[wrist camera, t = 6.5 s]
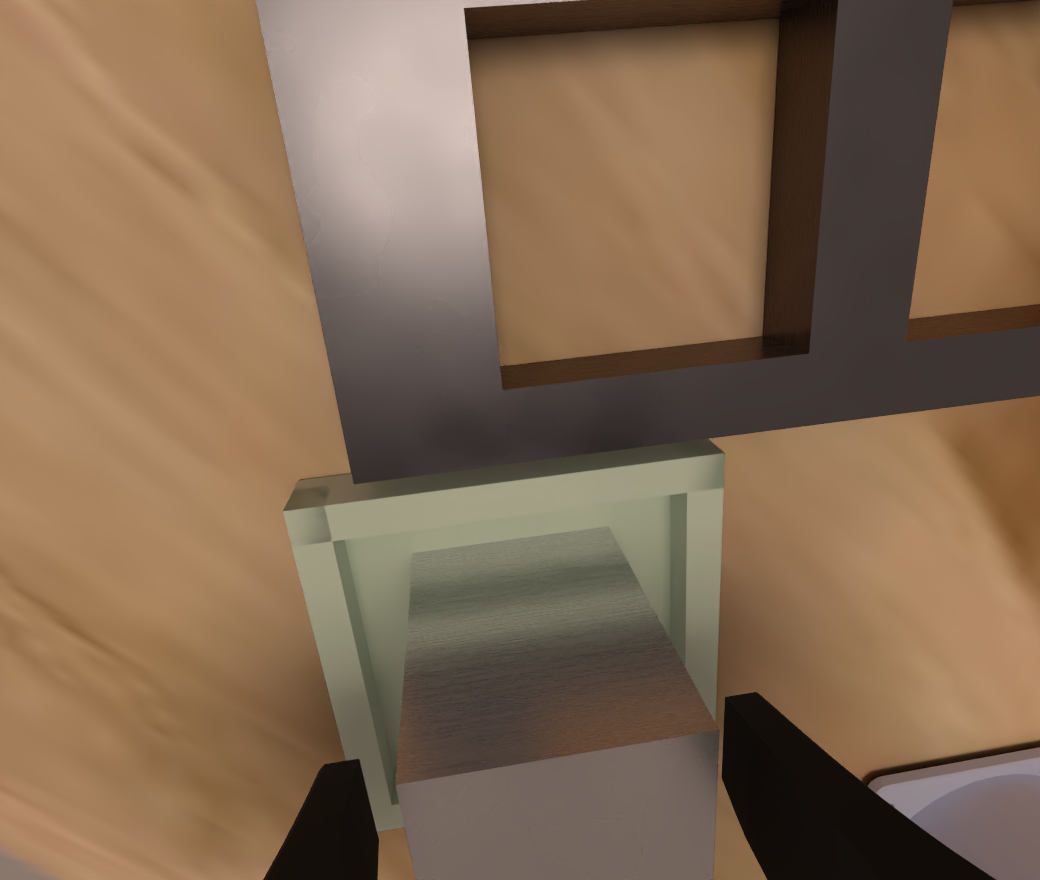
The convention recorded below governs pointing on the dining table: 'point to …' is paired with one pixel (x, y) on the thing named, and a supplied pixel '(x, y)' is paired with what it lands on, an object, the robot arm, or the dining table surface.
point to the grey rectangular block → (549, 720)
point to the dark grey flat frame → (638, 374)
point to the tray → (483, 519)
